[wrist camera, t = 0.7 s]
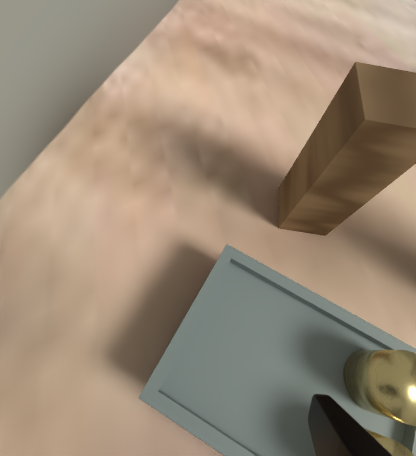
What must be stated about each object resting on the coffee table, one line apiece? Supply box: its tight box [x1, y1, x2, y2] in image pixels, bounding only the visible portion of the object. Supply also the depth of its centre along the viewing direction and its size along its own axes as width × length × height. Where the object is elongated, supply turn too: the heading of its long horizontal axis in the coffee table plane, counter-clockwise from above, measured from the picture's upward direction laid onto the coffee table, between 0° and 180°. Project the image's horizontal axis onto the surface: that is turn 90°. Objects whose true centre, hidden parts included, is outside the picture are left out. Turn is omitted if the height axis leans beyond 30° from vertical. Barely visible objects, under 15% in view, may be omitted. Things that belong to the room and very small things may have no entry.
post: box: [278, 62, 416, 235], centre depth 20 cm, size 4×4×13 cm
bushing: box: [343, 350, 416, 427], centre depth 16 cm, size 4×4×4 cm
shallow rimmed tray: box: [139, 244, 416, 456], centre depth 18 cm, size 16×11×4 cm
